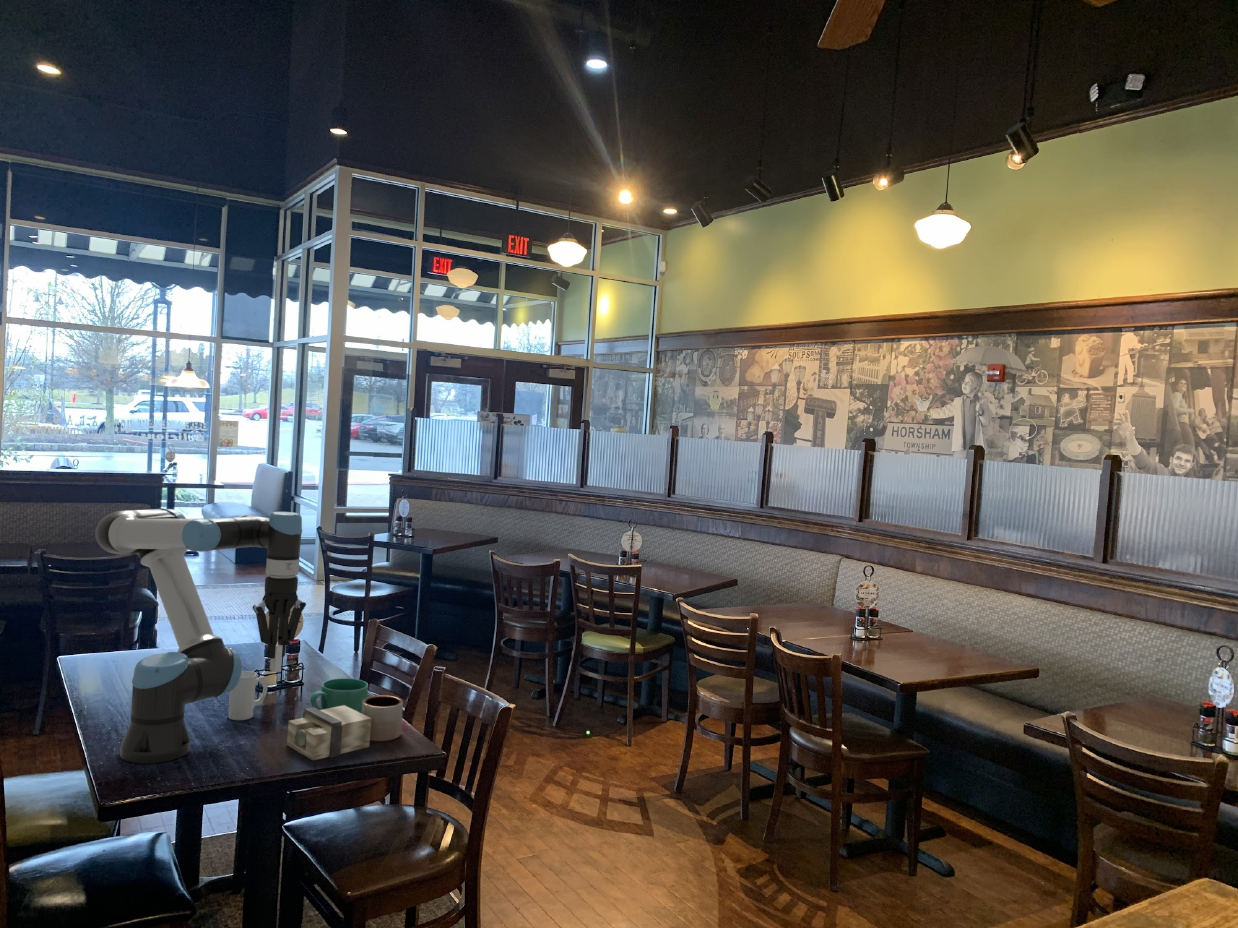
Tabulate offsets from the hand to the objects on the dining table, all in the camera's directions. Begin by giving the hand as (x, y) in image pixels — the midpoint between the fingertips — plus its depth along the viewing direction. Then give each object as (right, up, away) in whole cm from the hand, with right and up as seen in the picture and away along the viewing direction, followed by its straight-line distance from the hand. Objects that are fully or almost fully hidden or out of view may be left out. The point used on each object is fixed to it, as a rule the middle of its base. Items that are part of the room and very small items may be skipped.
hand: (275, 670), depth 213 cm
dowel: (+8, -21, +12) cm, 25 cm away
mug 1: (-20, -20, +30) cm, 41 cm away
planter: (+19, -23, +23) cm, 38 cm away
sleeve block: (+9, -23, +13) cm, 27 cm away
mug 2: (+4, -22, +34) cm, 41 cm away
